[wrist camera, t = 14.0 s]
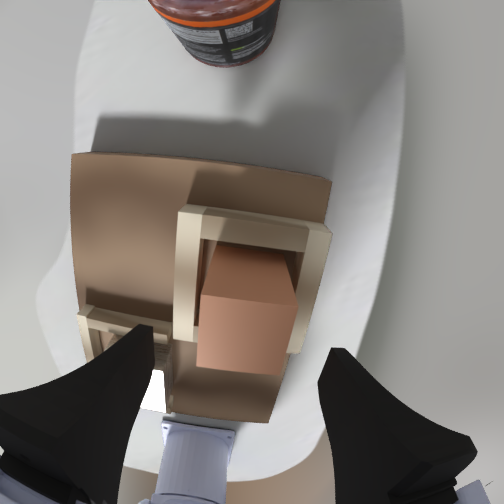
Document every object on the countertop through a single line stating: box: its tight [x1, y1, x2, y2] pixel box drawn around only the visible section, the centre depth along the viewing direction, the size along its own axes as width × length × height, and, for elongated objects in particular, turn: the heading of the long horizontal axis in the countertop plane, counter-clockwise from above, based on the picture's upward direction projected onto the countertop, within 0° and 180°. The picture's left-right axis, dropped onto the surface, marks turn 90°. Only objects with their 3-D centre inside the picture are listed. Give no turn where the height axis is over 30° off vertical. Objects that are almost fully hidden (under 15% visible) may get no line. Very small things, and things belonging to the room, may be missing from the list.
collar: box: [173, 204, 332, 354], centre depth 17 cm, size 8×8×2 cm
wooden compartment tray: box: [70, 152, 332, 423], centre depth 20 cm, size 21×16×4 cm
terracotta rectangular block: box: [196, 245, 299, 375], centre depth 15 cm, size 4×4×6 cm
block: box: [103, 334, 173, 412], centre depth 19 cm, size 4×4×3 cm
